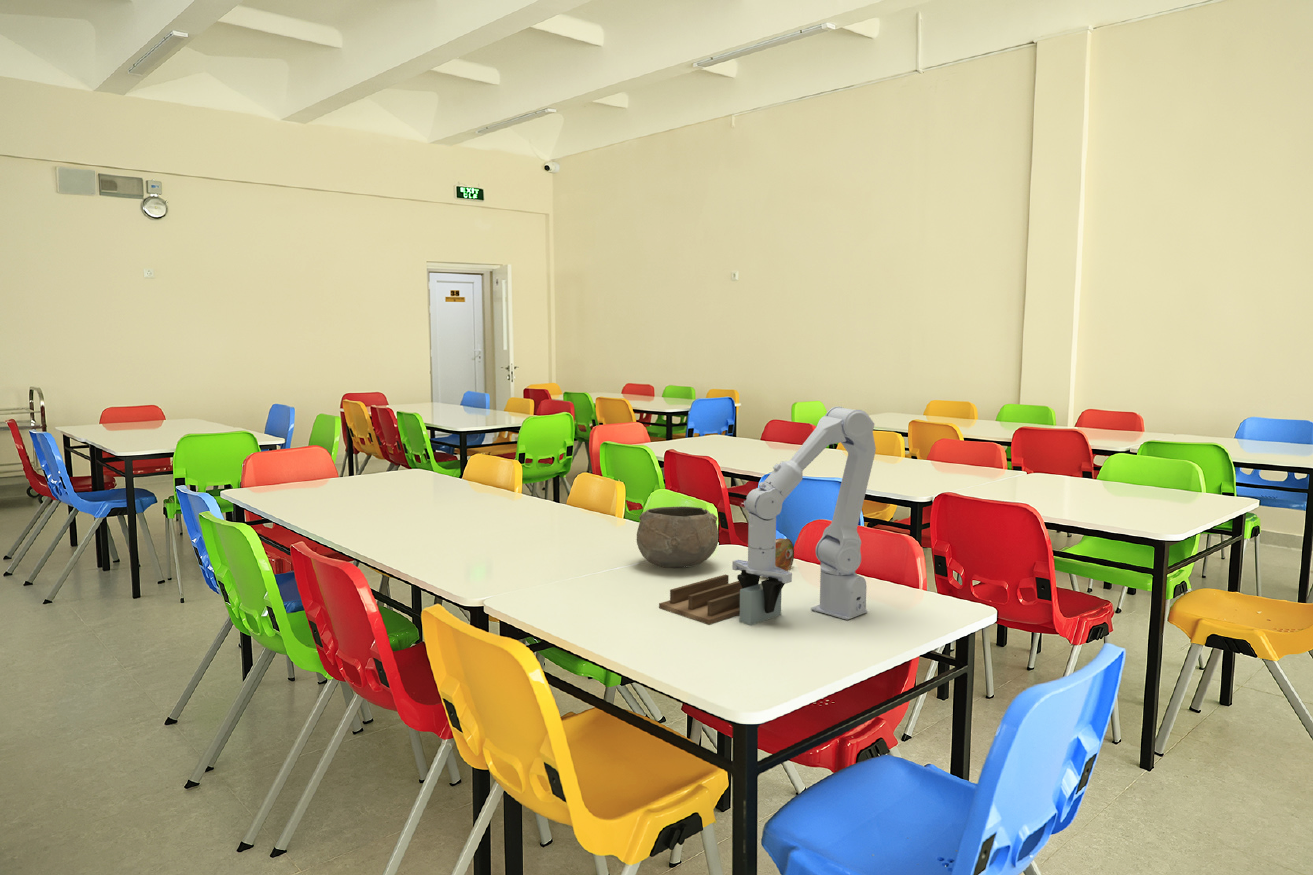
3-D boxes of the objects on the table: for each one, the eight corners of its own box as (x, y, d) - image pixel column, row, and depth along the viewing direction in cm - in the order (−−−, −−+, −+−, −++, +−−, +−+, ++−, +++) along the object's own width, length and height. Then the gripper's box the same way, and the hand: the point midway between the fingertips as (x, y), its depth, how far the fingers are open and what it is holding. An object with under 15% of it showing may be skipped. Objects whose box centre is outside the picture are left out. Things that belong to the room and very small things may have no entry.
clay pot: (620, 565, 221) (620, 508, 219) (678, 552, 234) (678, 499, 233) (676, 583, 205) (676, 521, 203) (734, 567, 219) (735, 510, 217)
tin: (765, 581, 207) (766, 547, 206) (754, 578, 209) (755, 545, 208) (795, 568, 219) (795, 536, 218) (784, 566, 221) (784, 534, 220)
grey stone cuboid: (780, 615, 182) (781, 583, 181) (750, 625, 175) (751, 592, 174) (769, 611, 184) (770, 580, 183) (739, 622, 177) (740, 589, 176)
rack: (776, 602, 190) (776, 585, 190) (709, 624, 175) (709, 605, 174) (726, 588, 201) (726, 571, 200) (659, 607, 186) (659, 590, 185)
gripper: (723, 543, 180) (722, 605, 182) (777, 555, 170) (775, 621, 171) (744, 538, 185) (743, 598, 186) (798, 550, 174) (797, 614, 176)
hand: (760, 609), depth 179 cm, fingers open, 4 cm apart
